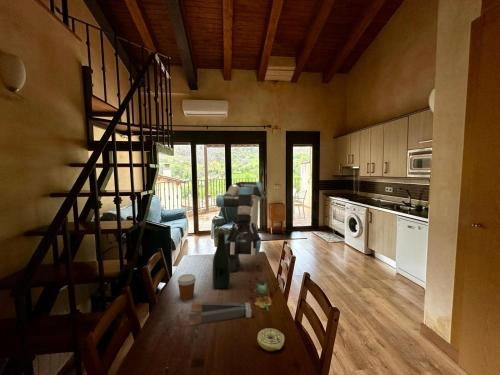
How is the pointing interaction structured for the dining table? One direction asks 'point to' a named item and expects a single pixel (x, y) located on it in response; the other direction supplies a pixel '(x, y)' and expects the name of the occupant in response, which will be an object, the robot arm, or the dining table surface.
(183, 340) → the dining table surface
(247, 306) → the tong hinge cap
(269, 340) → the decorated donut
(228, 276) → the beer bottle
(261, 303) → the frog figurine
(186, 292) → the disposable coffee cup
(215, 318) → the tong arm near
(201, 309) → the tong arm far
